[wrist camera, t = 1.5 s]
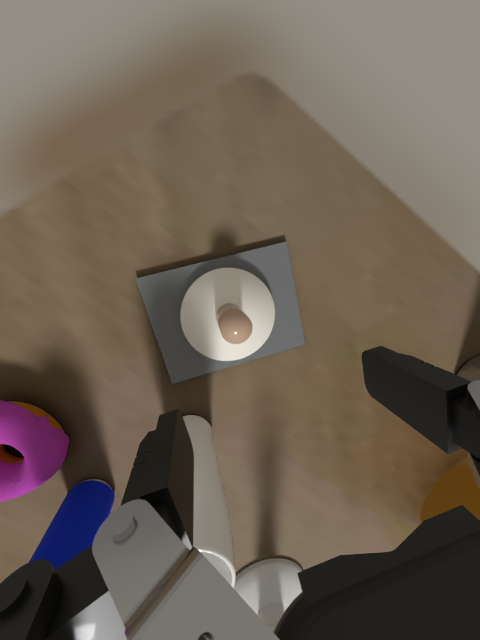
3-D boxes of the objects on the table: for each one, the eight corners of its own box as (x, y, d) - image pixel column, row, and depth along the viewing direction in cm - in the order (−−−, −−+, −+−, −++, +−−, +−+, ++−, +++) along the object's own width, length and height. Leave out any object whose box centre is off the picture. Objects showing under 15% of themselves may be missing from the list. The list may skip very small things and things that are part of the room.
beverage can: (75, 516, 30) (-40, 756, 15) (63, 481, 28) (-75, 707, 14) (120, 505, 30) (51, 724, 16) (110, 471, 29) (25, 675, 15)
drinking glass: (153, 417, 28) (108, 574, 14) (209, 399, 29) (222, 531, 15) (171, 463, 30) (148, 645, 16) (224, 445, 31) (248, 603, 17)
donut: (16, 490, 28) (-18, 533, 23) (-61, 429, 25) (-116, 464, 21) (93, 439, 28) (74, 472, 24) (25, 373, 25) (-11, 396, 21)
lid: (261, 257, 26) (280, 255, 20) (279, 343, 29) (300, 363, 23) (168, 280, 25) (160, 286, 19) (196, 368, 27) (195, 396, 22)
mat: (284, 241, 27) (286, 241, 26) (303, 342, 30) (305, 344, 29) (136, 278, 25) (135, 278, 24) (172, 381, 28) (172, 384, 27)
